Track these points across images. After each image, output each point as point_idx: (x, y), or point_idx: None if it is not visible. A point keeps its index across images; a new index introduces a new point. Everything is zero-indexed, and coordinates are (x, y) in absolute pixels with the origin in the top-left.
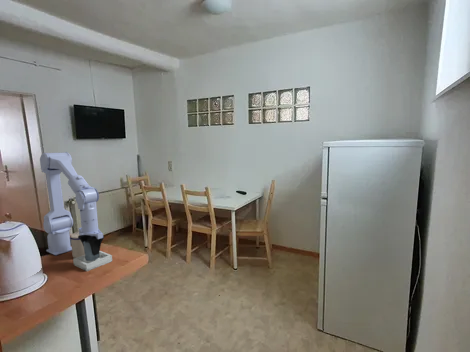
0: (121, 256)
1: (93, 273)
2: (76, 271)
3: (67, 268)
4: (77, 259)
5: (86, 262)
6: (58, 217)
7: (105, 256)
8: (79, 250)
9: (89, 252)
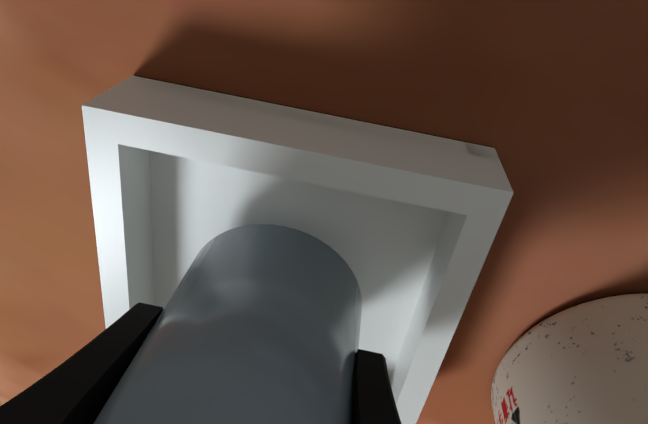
0: None
1: (7, 67)
2: (261, 19)
3: (492, 35)
4: (415, 197)
5: (329, 225)
6: None
7: None
8: (615, 391)
9: (166, 322)
